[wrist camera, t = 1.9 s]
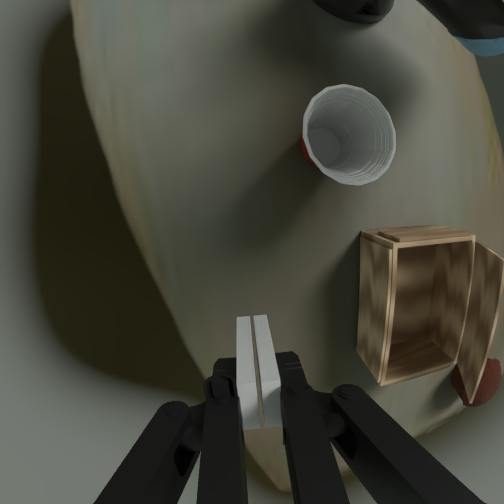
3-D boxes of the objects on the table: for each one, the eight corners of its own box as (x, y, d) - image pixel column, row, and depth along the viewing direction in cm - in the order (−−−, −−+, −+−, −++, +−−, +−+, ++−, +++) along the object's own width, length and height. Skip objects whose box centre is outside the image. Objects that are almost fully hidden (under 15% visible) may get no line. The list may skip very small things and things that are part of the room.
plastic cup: (349, 195, 40) (388, 199, 29) (275, 173, 39) (290, 167, 28) (365, 124, 38) (407, 106, 27) (294, 100, 37) (314, 69, 26)
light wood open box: (357, 227, 41) (390, 239, 32) (435, 222, 42) (475, 232, 32) (354, 355, 46) (376, 390, 36) (425, 339, 46) (454, 366, 36)
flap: (475, 241, 32) (503, 261, 23) (477, 241, 32) (506, 260, 22) (456, 360, 36) (469, 403, 27) (458, 360, 36) (471, 403, 26)
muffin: (477, 380, 50) (500, 401, 41) (442, 397, 50) (465, 423, 40) (487, 338, 48) (515, 358, 38) (451, 354, 48) (479, 379, 38)
